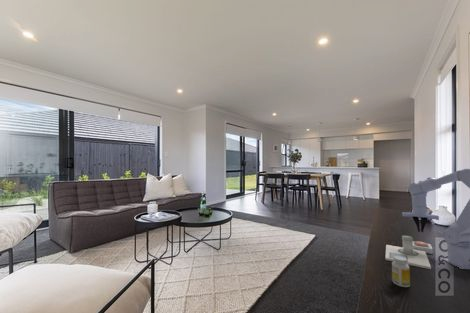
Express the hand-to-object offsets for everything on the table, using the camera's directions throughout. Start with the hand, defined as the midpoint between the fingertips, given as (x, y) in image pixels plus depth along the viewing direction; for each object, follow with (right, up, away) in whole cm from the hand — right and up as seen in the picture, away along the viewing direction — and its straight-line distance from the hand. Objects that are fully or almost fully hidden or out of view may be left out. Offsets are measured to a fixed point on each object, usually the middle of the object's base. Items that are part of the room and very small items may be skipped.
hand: (420, 231), depth 112 cm
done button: (0, -7, 0) cm, 7 cm away
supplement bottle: (-35, -9, -31) cm, 48 cm away
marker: (-11, -8, -6) cm, 15 cm away
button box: (0, -9, 0) cm, 9 cm away
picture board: (-14, -9, -8) cm, 19 cm away
